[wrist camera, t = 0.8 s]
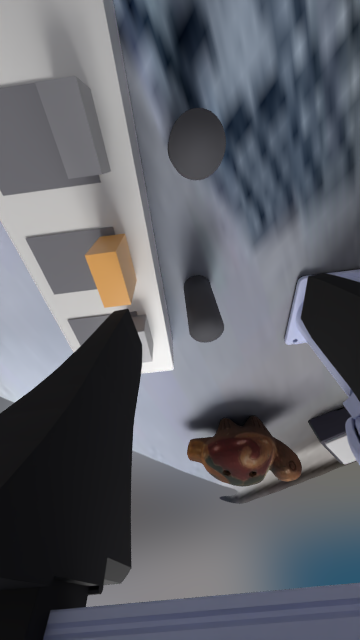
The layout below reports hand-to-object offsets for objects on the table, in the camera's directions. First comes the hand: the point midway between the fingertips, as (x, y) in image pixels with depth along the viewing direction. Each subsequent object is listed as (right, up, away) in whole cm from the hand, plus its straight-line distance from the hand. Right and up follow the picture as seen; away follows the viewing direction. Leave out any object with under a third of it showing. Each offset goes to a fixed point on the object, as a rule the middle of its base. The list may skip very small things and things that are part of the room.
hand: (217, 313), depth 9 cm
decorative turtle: (+7, -17, +26) cm, 32 cm away
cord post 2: (0, +3, +11) cm, 11 cm away
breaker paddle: (-5, +3, +5) cm, 8 cm away
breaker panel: (-8, +6, +8) cm, 13 cm away
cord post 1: (-1, +11, +5) cm, 12 cm away
